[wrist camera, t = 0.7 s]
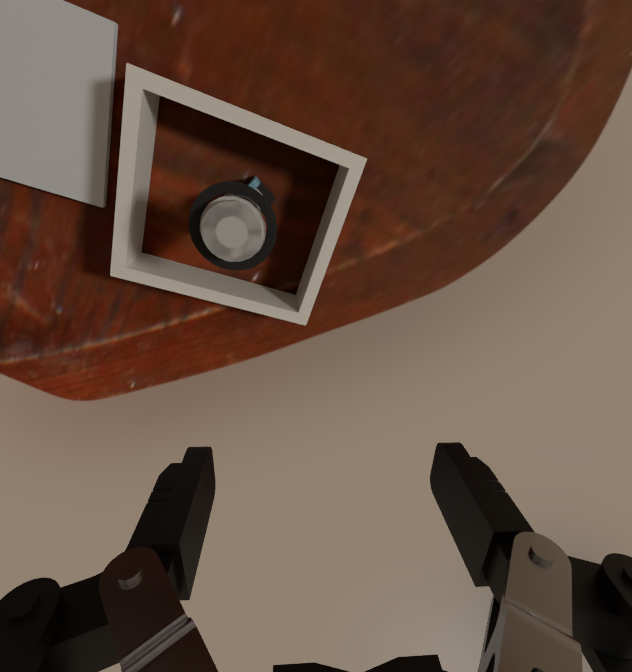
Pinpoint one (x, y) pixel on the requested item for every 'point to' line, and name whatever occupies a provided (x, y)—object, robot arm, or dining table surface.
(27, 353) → the dining table surface
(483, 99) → the dining table surface
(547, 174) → the dining table surface
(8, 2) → the pad
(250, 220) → the push button
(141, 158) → the grey rectangular frame
